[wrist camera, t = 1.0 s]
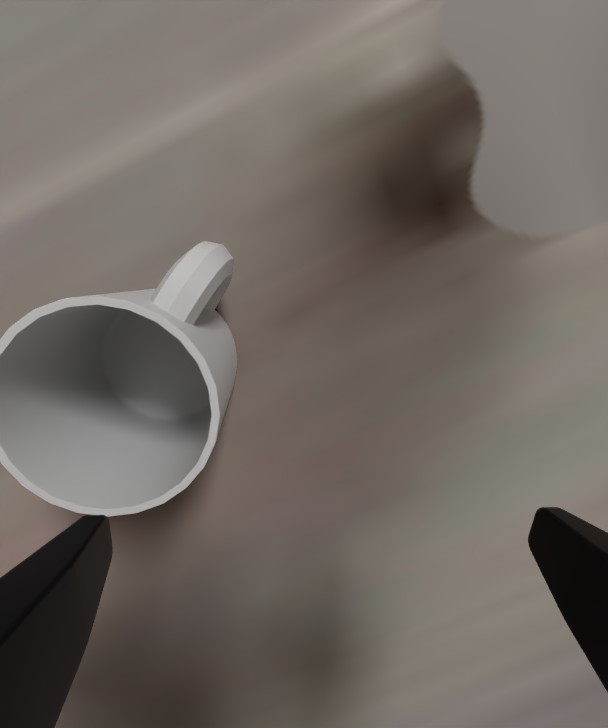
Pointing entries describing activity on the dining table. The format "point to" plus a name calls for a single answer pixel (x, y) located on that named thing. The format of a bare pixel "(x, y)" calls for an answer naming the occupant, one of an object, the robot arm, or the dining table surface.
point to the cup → (119, 390)
